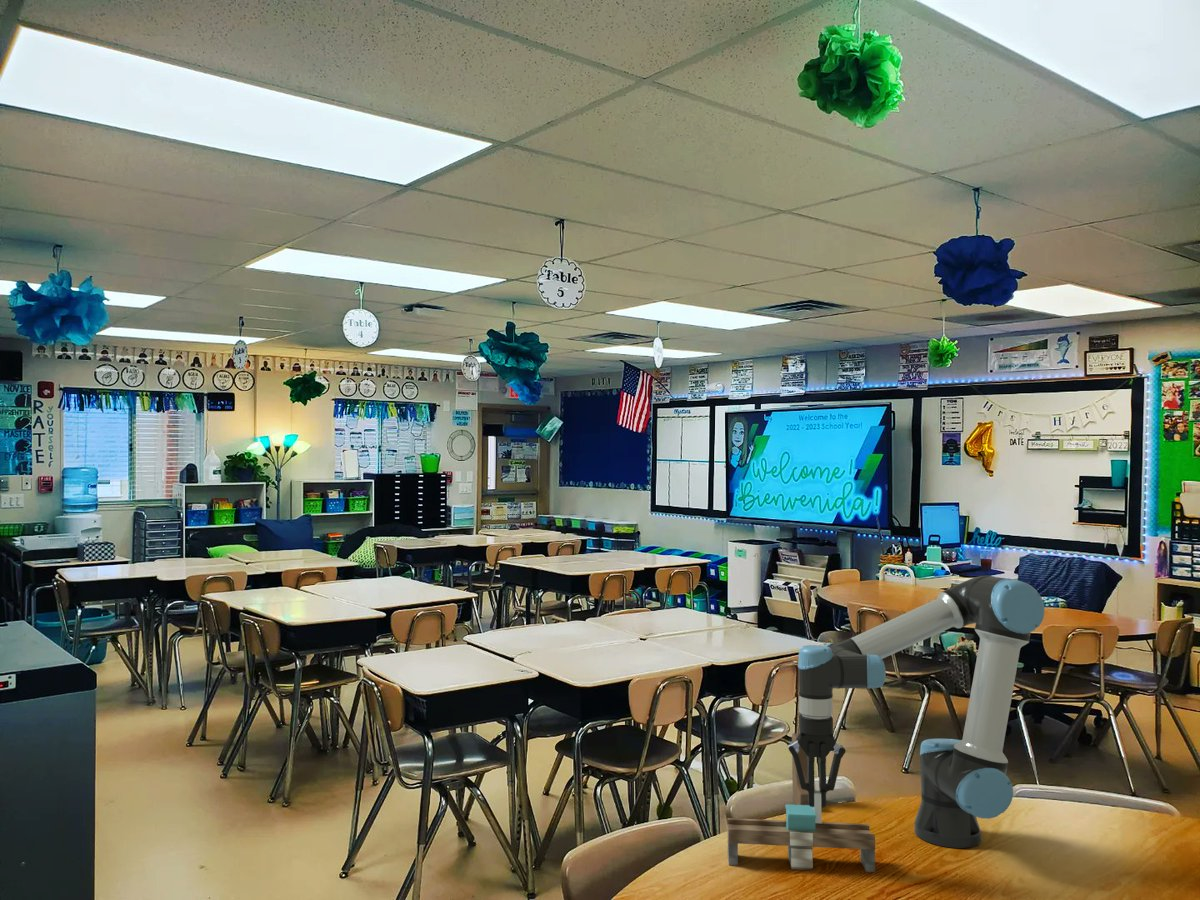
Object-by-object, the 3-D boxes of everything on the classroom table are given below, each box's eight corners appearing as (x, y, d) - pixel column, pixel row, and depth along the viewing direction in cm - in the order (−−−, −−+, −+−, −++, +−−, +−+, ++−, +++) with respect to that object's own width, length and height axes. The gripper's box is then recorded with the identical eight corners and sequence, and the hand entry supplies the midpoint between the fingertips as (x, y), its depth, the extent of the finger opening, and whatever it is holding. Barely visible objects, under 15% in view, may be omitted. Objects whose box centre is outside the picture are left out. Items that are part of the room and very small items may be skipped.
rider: (812, 825, 195) (811, 805, 195) (816, 836, 188) (815, 815, 189) (785, 824, 195) (785, 804, 196) (788, 835, 189) (788, 814, 189)
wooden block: (817, 811, 224) (816, 742, 225) (800, 811, 224) (799, 742, 225) (808, 799, 233) (807, 733, 234) (792, 799, 233) (791, 733, 234)
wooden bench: (868, 859, 193) (868, 823, 194) (875, 873, 186) (875, 836, 187) (727, 853, 197) (727, 817, 197) (729, 866, 190) (728, 829, 190)
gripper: (842, 711, 196) (843, 816, 195) (785, 710, 198) (786, 813, 196) (848, 719, 189) (849, 828, 187) (788, 718, 190) (790, 825, 189)
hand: (817, 820), depth 192 cm, fingers closed
